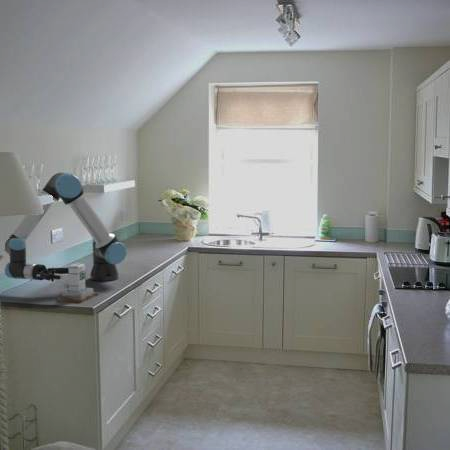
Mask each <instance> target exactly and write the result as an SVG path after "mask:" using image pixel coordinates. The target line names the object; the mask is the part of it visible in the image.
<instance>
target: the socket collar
mask: <svg viewBox="0 0 450 450" xmlns="http://www.w3.org/2000/svg"><path fill="white" fill-rule="evenodd" d="M93 292H94V288H93V287H86V290H85V291H82V292H73V291H69V288H67V289H64V290H62V291H61V296H62V297H73V298H84V297H86V296H88V295H91V294H93Z"/></svg>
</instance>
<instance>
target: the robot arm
mask: <svg viewBox="0 0 450 450" xmlns="http://www.w3.org/2000/svg"><path fill="white" fill-rule="evenodd" d="M85 193H86V191H85V189H84V188H83V186H82V182H81V180H80V179H79V178H78V176H76V175H74V174H72V173H70V172H69V173H68V172H58V173H55V174H54V175H52V176H51V177H50V179H49V180H48V181H47V182H46V184H45V186H43V188H42V189H41V194H48V195H52V196H53V200H54V201H55V202H53V203H50V204H46V205H43V210H44V213H43V214H39V215H24V217H23V219H22V220H21V221H20V223H19V224H18V225H17V227H16V228H15V229H14V231H13V232H12V233H11V235H10V236H9V237H8V238H9V239H8V238H7V239H8V240H7V241H6V243H5V250H4V252H5V251H6V252H7V254H8V255H9V262H7V263H6V265H5V268H4V274H5V276H6V277H8V278H9V279H19V280H29V281H31V282H32V280H35V281H43V280H45V281H50V282H54V281H69V268H68V267H48V268H47V266H46V265H45V264H39V263H38V264H37V263H27V245H26V241H27V240H28V238H29V237H30V236H31V235H32V233H33V232H34V231H35V229H36V228H37V227H38V225H39V224H40V223H41V221H42V220H43V218H44V217H45V216H46V214H47V213H48V212H49V210H50V209H51V208H52V207H53V205H54V204H55V203H57V202H59V201H60V199H61V200H62V202H63V204H64V205H67V206H70V208H71V210H72V211H73V212H74V213H75V215H76V217H77V218H78V219H79V221H80V223H81V224H82V225H83V227H84V228H85V229H86V231H87V232H88V233H89V235H90V236H91V238H92V262H93V263H92V267H91V271H90V275H89V279H90V280H92V281H93V282H95V281H97V282H108V281H115V280H118V279H119V277H120V276H119V272H118V268H117V266H116V265H118V264H121V263H123V262H124V261H125V259H126V257H127V254H128V252H127V247H126V246H125V244H123V243H122V242H120V240H119V239H118V237H117V236H116V235H115V234H114V233H111V232H110V231H109V230H108V228H107V226H106V225H105V224H104V222H103V221H102V220H101V218H100V217H99V215H98V214H97V212H96V211H95V209H94V208H93V207H92V205H91V204H90V202H89V201H88V200H87V198H86V196H85V195H86V194H85ZM6 252H5V253H6Z"/></svg>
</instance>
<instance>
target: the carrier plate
mask: <svg viewBox="0 0 450 450" xmlns="http://www.w3.org/2000/svg"><path fill="white" fill-rule="evenodd" d="M97 296H98V291H93V294H91V295H88V296H86V297H84V298H73V297H62V295H61V296H58V297H57V299H56V300H57V302H67V303H75V304H77V303H78V304H79V303H80V304H81V303H84V302H85V301H88V300H90V299H93V298H95V297H97Z"/></svg>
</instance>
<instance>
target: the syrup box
mask: <svg viewBox="0 0 450 450" xmlns="http://www.w3.org/2000/svg"><path fill="white" fill-rule="evenodd" d="M67 268H69V274H68V289H69V291H73V292H82V291H85V290H86V288H87V279H86V276H87V273H86V264H84V263H74V264H71V265H68V267H67Z"/></svg>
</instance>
